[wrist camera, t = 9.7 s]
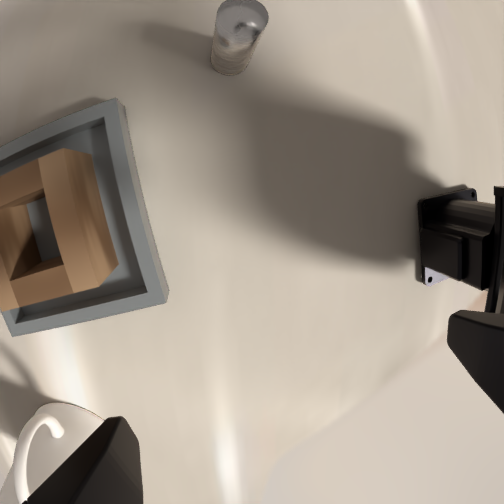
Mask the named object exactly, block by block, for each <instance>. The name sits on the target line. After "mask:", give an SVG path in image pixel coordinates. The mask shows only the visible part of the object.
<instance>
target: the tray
mask: <svg viewBox="0 0 504 504" xmlns="http://www.w3.org/2000/svg"><path fill="white" fill-rule="evenodd" d="M62 148H65V149H70V150H74V151H79V152H83V153H88V154H91V155H92V160H93V165H94V170H95V174H96V179H97V184H98V188H99V192H100V196H101V201H102V205H103V209H104V213H105V216H106V220H107V224H108V228H109V231H110V235H111V238H112V242H113V245H114V249H115V252H116V256H117V259H118V262H119V265H118V266H117V267H116V268H115V269H114V270H113V271H112V273H111V274H110V275H109V276H108V277H107V278H106V279H105V281H104V282H103V283H102V284H101V285H100V286H99V287H96V288H92V289H88V290H84V291H80V292H77V293H73V294H69V295H65V296H61V297H57V298H53V299H49V300H46V301H42V302H38V303H34V304H30V305H26V306H23V307H19V308H15V309H11V310H7V311H3V312H2V311H1V312H2V315H3V317H4V320H5V322H6V324H7V327H8V329H9V331H10V333H11V336H12V337H15V336H20V335H25V334H30V333H35V332H39V331H44V330H49V329H54V328H58V327H63V326H68V325H72V324H77V323H82V322H86V321H91V320H95V319H100V318H104V317H108V316H113V315H117V314H122V313H126V312H130V311H134V310H139V309H143V308H147V307H151V306H156V305H160V304H164V303H166V302H167V298H168V294H169V288H168V285H167V281H166V278H165V275H164V271H163V268H162V265H161V261H160V258H159V254H158V251H157V247H156V244H155V240H154V236H153V233H152V229H151V225H150V221H149V217H148V213H147V210H146V206H145V202H144V197H143V193H142V189H141V185H140V181H139V176H138V172H137V167H136V163H135V158H134V153H133V148H132V144H131V139H130V133H129V128H128V123H127V117H126V112H125V106H124V105H123V104H122V103H121V102H120V101H119V100H118V99H117V98H114V99H111V100H108V101H105V102H102V103H99V104H97V105H94V106H91V107H88V108H86V109H83V110H80V111H78V112H75V113H73V114H70V115H68V116H65V117H63V118H60V119H58V120H56V121H53V122H51V123H49V124H46V125H44V126H42V127H40V128H38V129H35V130H33V131H31V132H29V133H27V134H25V135H23V136H21V137H19V138H17V139H15V140H13V141H11V142H9V143H7V144H5V145H3V146H1V147H0V176H2V175H4V174H6V173H8V172H10V171H12V170H14V169H16V168H18V167H20V166H23V165H25V164H27V163H29V162H31V161H34V160H36V159H38V158H40V157H43V156H45V155H47V154H50V153H52V152H55V151H57V150H59V149H62ZM27 209H28V213H29V217H30V221H31V225H32V229H33V232H34V236H35V240H36V243H37V247H38V250H39V253H40V257H41V260H42V261H45V260H49V259H52V258H55V257H58V256H61V254H60V250H59V247H58V244H57V240H56V237H55V233H54V229H53V226H52V222H51V218H50V214H49V210H48V206H47V201H46V197H43V198H41V199H38V200H36V201H33V202H31V203H28V204H27ZM0 310H1V308H0Z"/></svg>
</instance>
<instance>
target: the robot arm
mask: <svg viewBox="0 0 504 504" xmlns="http://www.w3.org/2000/svg"><path fill="white" fill-rule="evenodd" d="M494 195H495V204H491V203H484V202H478V201H477V193H476V190H475V189H473V188H467V189H463V190H458V191H454V192H450V193H445V194H441V195H436V196H432V197H428V198H423V199H421V200H420V201H419V202H418V216H419V227H420V241H421V259H422V282H423V284H425V285H427V286H431V285H434V284H436V283H438V282H441V281H443V280H445V279H448V278H452V279H454V280H457V281H461V282H464V283H466V284H468V285H470V286H473V287H475V288H477V289H479V290H481V291H483V290H486V291H488V294H487V300H486V306H485V311H484V312H477V311H468V310H459V311H457V312H455V313H454V314H452V315H451V316H450V317H449V321H448V333H447V343H448V346H449V347H450V349H451V350H452V351H453V353H454V354H455V355H456V357H457V358H458V359H459V361H460V362H461V363H462V365H463V366H464V367H465V369H466V370H467V371H468V373H469V374H470V375H471V377H472V378H473V379H474V381H475V382H476V383H477V384H478V385H479V386H480V387H481V389H482V390H483V391H484V392H485V393H486V394H487V395H488V396H489V397H490V399H491V400H492V401H493V402H494V403H495V404H496V405H497V407H498V408H499V409H500V410H501V411H502V412H503V413H504V186H494ZM424 204H425V208H424ZM428 278H429V280H428ZM22 504H143V485H142V475H141V462H140V448H139V442H138V439H137V437H136V435H135V434H134V432H133V431H132V429H131V427H130V426H129V424H128V422H127V421H126V419H125V418H124V417H122V416H117V417H109V418H107V419H106V420H105V421H104V422H103V423H102V424H101V425H100V426H99V427H98V428H97V429H96V430H95V431H94V432H93V433H92V434H91V435H90V436H89V437H88V438H87V439H86V440H85V441H84V442H83V443H82V444H81V445H80V446H79V447H78V448H77V449H76V450H75V451H74V452H73V453H72V454H71V455H70V456H69V457H68V458H67V459H66V460H65V461H64V462H63V463H62V464H61V465H60V466H59V467H58V468H57V469H56V470H55V471H54V472H53V473H52V474H51V475H50V476H49V477H48V478H47V479H46V480H45V481H44V482H43V483H42V484H41V485H40V486H39V487H38V488H37V489H36V490H35V491H34V492H33V493H32V494H31V495H30V496H29V497H28V498H27V500H25V501H24V502H23V503H22Z"/></svg>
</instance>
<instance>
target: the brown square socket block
mask: <svg viewBox="0 0 504 504" xmlns="http://www.w3.org/2000/svg"><path fill="white" fill-rule="evenodd" d="M43 197H46V201H47V206H48V210H49V214H50V218H51V222H52V226H53V229H54V233H55V237H56V240H57V244H58V247H59V250H60V254H61V256H58V257H55V258H52V259H49V260H45V261H42V260H41V257H40V253H39V250H38V247H37V243H36V240H35V236H34V232H33V229H32V225H31V221H30V217H29V213H28V209H27V204H28V203H31V202H33V201H36V200H38V199H41V198H43ZM118 265H119V262H118V259H117V256H116V252H115V249H114V245H113V242H112V238H111V235H110V231H109V228H108V224H107V220H106V216H105V213H104V209H103V205H102V201H101V196H100V192H99V188H98V184H97V179H96V174H95V170H94V165H93V160H92V155H91V154H88V153H83V152H79V151H74V150H70V149H65V148H62V149H59V150H57V151H55V152H52V153H50V154H47V155H45V156H43V157H40V158H38V159H36V160H34V161H31V162H29V163H27V164H25V165H23V166H20V167H18V168H16V169H14V170H12V171H10V172H8V173H6V174H4V175H2V176H0V308H1V311H2V312H3V311H7V310H11V309H15V308H19V307H23V306H26V305H30V304H34V303H38V302H42V301H46V300H49V299H53V298H57V297H61V296H65V295H69V294H73V293H77V292H80V291H84V290H88V289H92V288H96V287H99V286H100V285H101V284H102V283H103V282H104V281H105V279H106V278H107V277H108V276H109V275H110V274H111V273H112V271H113V270H114V269H115V268H116V267H117V266H118Z"/></svg>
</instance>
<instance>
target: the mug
mask: <svg viewBox="0 0 504 504" xmlns="http://www.w3.org/2000/svg"><path fill="white" fill-rule="evenodd" d="M103 422H104V420H103V419H101V418H100V417H98V416H97V415H95V414H93V413H91V412H89V411H87V410H85V409H83V408H80V407H77V406H74V405H70V404H66V403H49V404H45V405H43V406H41V407H40V408H39V409H38V410H37V411H36V412H35V414H34V416H33V417H32V418H31V419H29V421H28V422H27V423H26V424H25V426H24V427H23V429H22V431H21V433H20V435H19V438H18V441H17V444H16V448H15V453H14V460H13V464H12V467H11V469H10V471H9V473H8V475H7V478H6V480H5V482H4V485H3V487H2V489H1V491H0V504H22V503H23V502H24V501H25V500H27V498H28V497H29V496H30V495H31V494H32V493H33V492H34V491H35V490H36V489H37V488H38V487H39V486H40V485H41V484H42V483H43V482H44V481H45V480H46V479H47V478H48V477H49V476H50V475H51V474H52V473H53V472H54V471H55V470H56V469H57V468H58V467H59V466H60V465H61V464H62V463H63V462H64V461H65V460H66V459H67V458H68V457H69V456H70V455H71V454H72V453H73V452H74V451H75V450H76V449H77V448H78V447H79V446H80V445H81V444H82V443H83V442H84V441H85V440H86V439H87V438H88V437H89V436H90V435H91V434H92V433H93V432H94V431H95V430H96V429H97V428H98V427H99V426H100V425H101V424H102V423H103Z"/></svg>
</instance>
